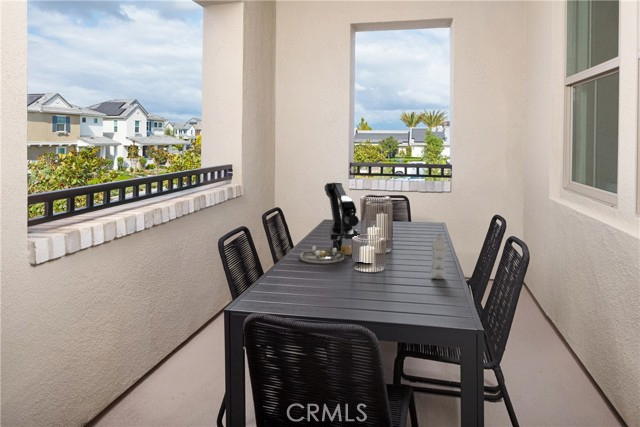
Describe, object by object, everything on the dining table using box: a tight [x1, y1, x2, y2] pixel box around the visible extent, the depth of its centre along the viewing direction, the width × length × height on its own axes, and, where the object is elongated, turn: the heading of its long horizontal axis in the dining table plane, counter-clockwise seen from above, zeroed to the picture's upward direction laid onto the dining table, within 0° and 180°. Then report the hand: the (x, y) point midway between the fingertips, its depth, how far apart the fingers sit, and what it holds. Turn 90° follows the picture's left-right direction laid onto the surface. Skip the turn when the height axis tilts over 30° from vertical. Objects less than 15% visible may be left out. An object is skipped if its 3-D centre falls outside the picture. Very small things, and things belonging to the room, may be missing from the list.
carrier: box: [299, 245, 346, 265], centre depth 253 cm, size 23×23×5 cm
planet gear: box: [341, 244, 352, 256], centre depth 264 cm, size 7×7×4 cm
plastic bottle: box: [430, 233, 448, 280], centre depth 213 cm, size 6×7×20 cm
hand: (346, 251), depth 264 cm, fingers closed on planet gear, 7 cm apart
